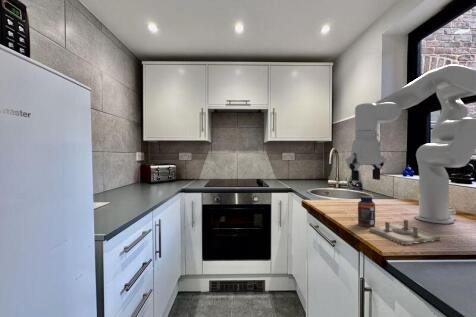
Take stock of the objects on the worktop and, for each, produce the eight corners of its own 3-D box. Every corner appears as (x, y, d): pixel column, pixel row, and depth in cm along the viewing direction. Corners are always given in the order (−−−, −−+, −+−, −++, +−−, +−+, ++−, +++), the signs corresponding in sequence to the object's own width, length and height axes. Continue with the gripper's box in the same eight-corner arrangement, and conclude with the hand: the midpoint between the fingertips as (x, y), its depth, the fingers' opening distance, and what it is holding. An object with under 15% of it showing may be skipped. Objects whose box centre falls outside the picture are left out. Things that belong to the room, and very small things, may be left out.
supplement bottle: (377, 227, 91) (377, 198, 90) (360, 227, 92) (360, 197, 92) (372, 223, 97) (372, 195, 96) (356, 222, 98) (356, 194, 97)
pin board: (400, 227, 91) (400, 216, 91) (439, 240, 77) (439, 227, 77) (369, 230, 87) (369, 219, 87) (404, 245, 74) (404, 231, 74)
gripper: (376, 136, 99) (376, 178, 99) (340, 136, 95) (340, 179, 95) (392, 135, 92) (392, 180, 92) (353, 135, 88) (353, 182, 88)
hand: (365, 179), depth 94 cm, fingers open, 9 cm apart
